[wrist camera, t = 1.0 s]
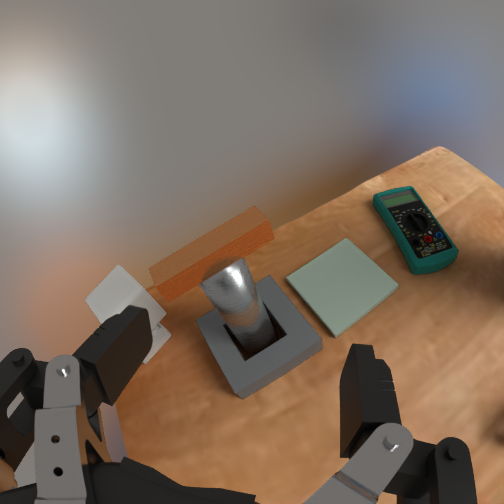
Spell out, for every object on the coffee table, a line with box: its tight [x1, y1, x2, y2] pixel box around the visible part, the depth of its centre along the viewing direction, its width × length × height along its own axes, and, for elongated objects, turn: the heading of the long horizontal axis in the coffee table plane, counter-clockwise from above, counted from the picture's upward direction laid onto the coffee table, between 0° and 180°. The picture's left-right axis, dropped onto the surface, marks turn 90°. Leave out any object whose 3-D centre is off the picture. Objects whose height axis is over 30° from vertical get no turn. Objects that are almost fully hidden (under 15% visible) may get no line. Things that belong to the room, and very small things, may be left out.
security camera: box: [85, 264, 172, 364], centre depth 33 cm, size 6×7×10 cm
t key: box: [149, 206, 277, 356], centre depth 27 cm, size 9×4×17 cm, turn 119°
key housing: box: [196, 275, 322, 399], centre depth 32 cm, size 10×10×3 cm
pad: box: [286, 238, 399, 338], centre depth 34 cm, size 10×10×1 cm
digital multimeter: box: [373, 186, 458, 275], centre depth 36 cm, size 7×15×3 cm, turn 7°
